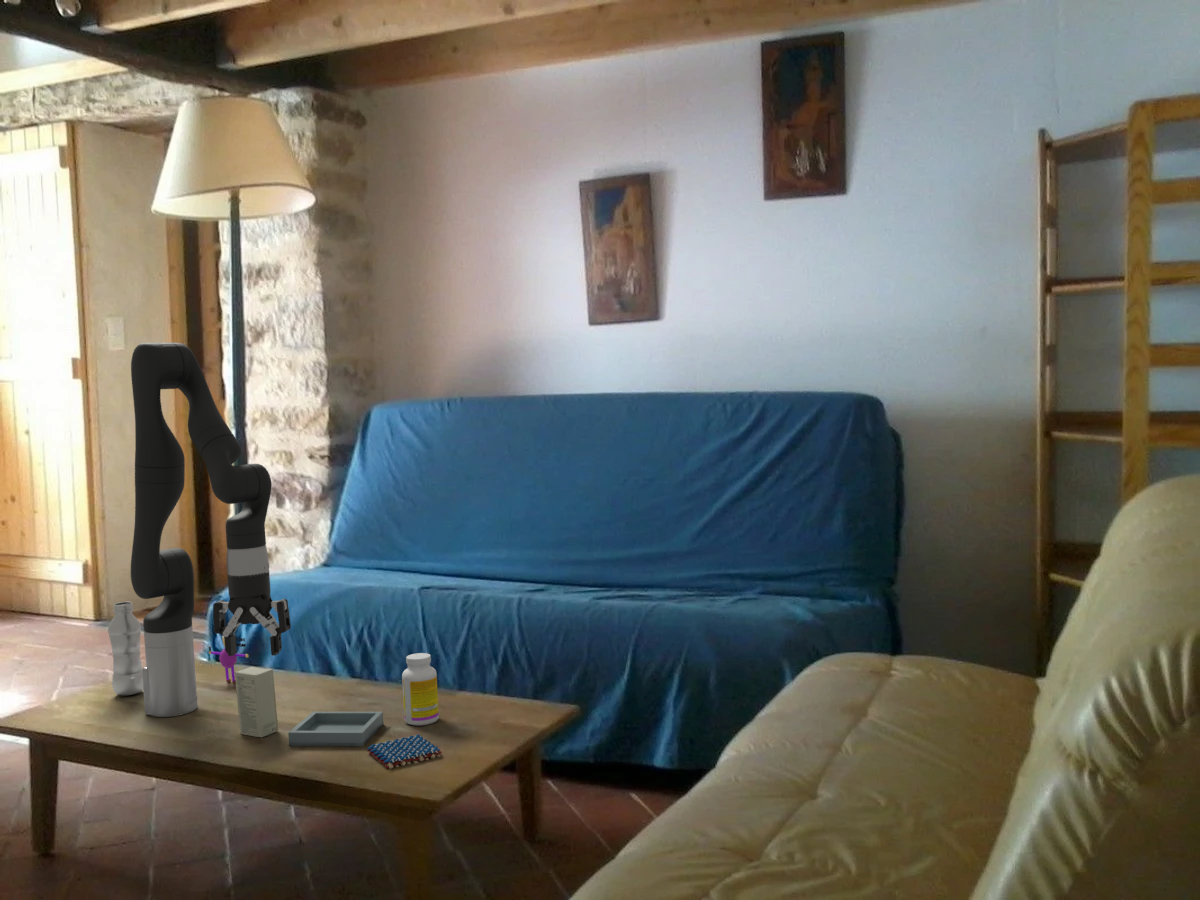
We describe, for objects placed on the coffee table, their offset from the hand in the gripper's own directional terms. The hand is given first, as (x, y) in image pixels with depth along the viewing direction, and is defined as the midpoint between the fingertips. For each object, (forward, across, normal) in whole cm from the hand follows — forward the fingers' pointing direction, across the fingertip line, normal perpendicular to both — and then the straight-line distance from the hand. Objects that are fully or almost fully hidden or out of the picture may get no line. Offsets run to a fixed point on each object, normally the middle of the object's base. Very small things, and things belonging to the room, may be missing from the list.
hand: (254, 654), depth 204 cm
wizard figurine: (+15, -21, +32) cm, 41 cm away
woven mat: (+16, +32, -11) cm, 37 cm away
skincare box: (+15, 0, 0) cm, 15 cm away
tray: (+15, +16, -1) cm, 22 cm away
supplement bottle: (+16, +30, +7) cm, 34 cm away
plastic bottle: (+15, -40, +24) cm, 49 cm away
